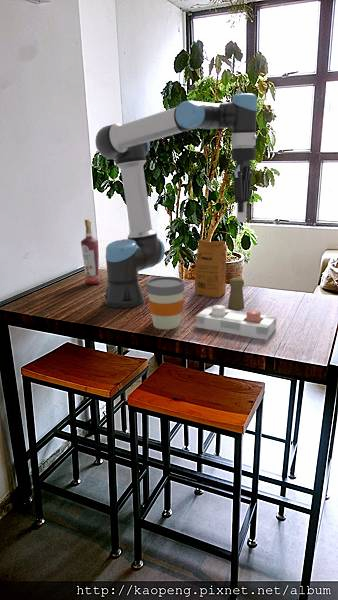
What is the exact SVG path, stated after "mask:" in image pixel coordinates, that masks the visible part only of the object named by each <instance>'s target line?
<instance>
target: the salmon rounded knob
mask: <svg viewBox="0 0 338 600" xmlns="http://www.w3.org/2000/svg"><path fill="white" fill-rule="evenodd" d="M246 312H247V318H246V322H252V323H258V324H259V323H260V319H261V315H262V314H261V313H262V312H261V311H259V310H254V309H252V310H247V311H246Z"/></svg>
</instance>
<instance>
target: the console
mask: <svg viewBox="0 0 338 600" xmlns="http://www.w3.org/2000/svg"><path fill="white" fill-rule="evenodd" d="M246 318H247V311H239V310H234V309H229V308H228V309H226V308H225V316H224V317H223V318H222V317H216V316H212V306H210V305H209V306H207V307H206V308H204V309H203V310H202V311H200V312H199V313H197V314H196V315H195V328H200V329H204V330H208V331H209V330H210V331H216V332H220V333H221V332H222V333H226V334H231V335H232V334H233V335H236V336H237V335H238V336H243V337H249V338H252V339H253V338H254V339H259V340H268V339H269V337H270V336H272V334H273V333H274V331H275V330H276V329H277V316H271V315H264V314H261V319H260V323H259V324H258V323H252V322H246Z"/></svg>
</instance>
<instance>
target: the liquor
mask: <svg viewBox="0 0 338 600" xmlns="http://www.w3.org/2000/svg"><path fill="white" fill-rule="evenodd" d="M84 226H85V237H84V238H83V239H82V240H81V241H80V246H81V253H82V260H83V267H84V274H85V281H84V282H85V283H86V284H87V285H91V286H92V285H97V284H99V282H100V281H101V278H100V266H99V265H100V263H99V261H100V260H99V259H100V258H99V239H96V238H95V237H94V236H93V231H92V220H91V219H88V218H87V219H84Z"/></svg>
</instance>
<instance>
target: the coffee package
mask: <svg viewBox="0 0 338 600" xmlns="http://www.w3.org/2000/svg"><path fill="white" fill-rule="evenodd" d="M225 244H226V242H225V241H224V240H220V241H209V240H205V239H201V238H200V239H198V244H197V245H198V246H197V252H196V258H195V264H194V265H195V269H194V272H195V273H194V295H195V296H203V297H206V298H217V299H218V298H221V297H222V296H223V295H224V293H226V291H227V289H226V288H227V287H226V277H227V255H226V254H227V253H226V248H225V247H226V246H225Z"/></svg>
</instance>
